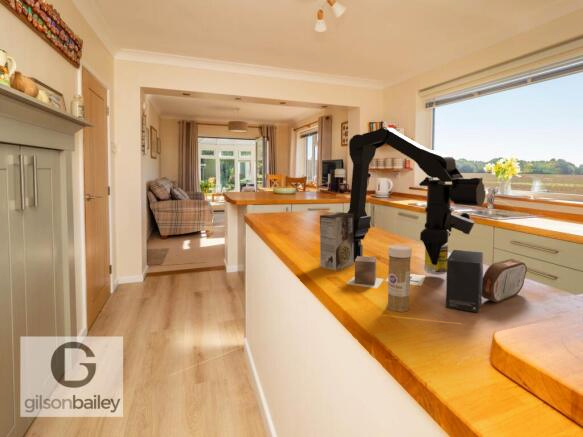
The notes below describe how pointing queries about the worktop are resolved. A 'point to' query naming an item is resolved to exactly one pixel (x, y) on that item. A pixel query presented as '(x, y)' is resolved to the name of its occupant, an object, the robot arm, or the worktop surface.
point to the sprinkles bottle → (399, 277)
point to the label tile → (415, 279)
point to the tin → (503, 280)
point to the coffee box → (336, 240)
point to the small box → (464, 280)
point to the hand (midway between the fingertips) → (435, 261)
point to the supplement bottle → (441, 264)
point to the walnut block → (365, 270)
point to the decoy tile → (377, 283)
